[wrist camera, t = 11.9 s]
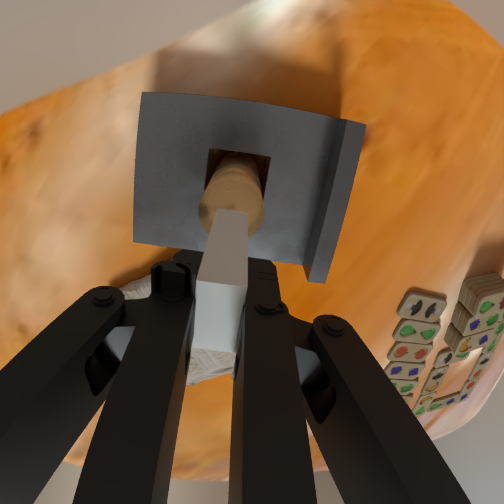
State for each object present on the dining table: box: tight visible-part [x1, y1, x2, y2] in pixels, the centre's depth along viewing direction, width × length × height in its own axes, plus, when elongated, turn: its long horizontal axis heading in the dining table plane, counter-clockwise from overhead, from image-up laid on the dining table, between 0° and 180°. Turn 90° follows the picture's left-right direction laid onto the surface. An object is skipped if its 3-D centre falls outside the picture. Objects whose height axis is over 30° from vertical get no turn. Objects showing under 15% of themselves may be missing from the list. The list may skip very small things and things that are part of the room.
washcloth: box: [119, 259, 236, 385], centre depth 37 cm, size 12×18×3 cm, turn 28°
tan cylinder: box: [198, 153, 264, 238], centre depth 24 cm, size 4×4×12 cm
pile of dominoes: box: [384, 272, 504, 416], centre depth 41 cm, size 35×27×6 cm
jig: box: [133, 92, 366, 284], centre depth 26 cm, size 18×14×7 cm
